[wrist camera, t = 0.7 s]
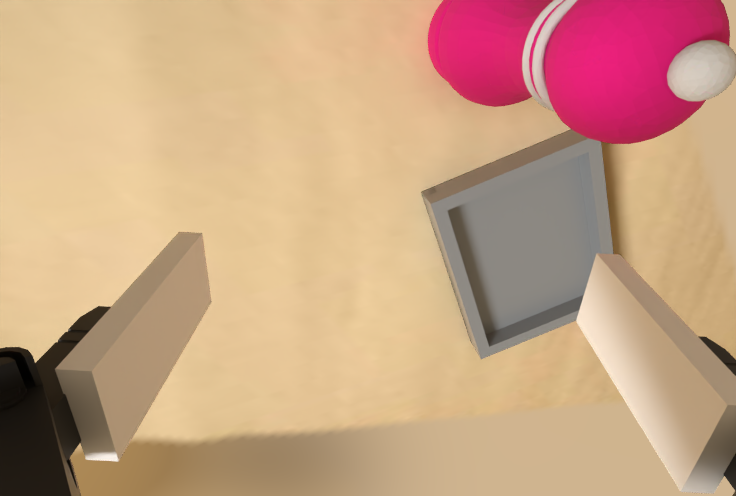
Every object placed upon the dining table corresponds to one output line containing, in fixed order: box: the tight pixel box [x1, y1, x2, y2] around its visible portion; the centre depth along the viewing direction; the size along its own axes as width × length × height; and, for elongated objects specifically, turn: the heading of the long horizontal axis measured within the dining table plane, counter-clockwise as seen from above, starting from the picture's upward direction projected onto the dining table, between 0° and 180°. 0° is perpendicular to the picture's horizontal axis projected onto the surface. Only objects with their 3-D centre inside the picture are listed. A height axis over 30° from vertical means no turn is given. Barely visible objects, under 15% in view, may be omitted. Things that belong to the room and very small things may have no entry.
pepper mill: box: [428, 0, 736, 144], centre depth 22 cm, size 7×7×20 cm
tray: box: [421, 129, 613, 359], centre depth 38 cm, size 16×13×2 cm
